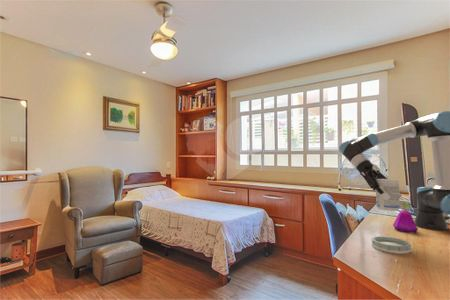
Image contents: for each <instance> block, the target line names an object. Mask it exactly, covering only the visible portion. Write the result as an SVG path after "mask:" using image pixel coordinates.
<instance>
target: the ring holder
mask: <svg viewBox="0 0 450 300" xmlns="http://www.w3.org/2000/svg"><path fill="white" fill-rule="evenodd" d="M371 247H373V248H374V249H376V250H378V251H381V252H386V253H389V254H397V255H407V254H410V253H411V249H412V244H411V243H410V241H407V240H405V239H402V238H397V237H393V236H384V235H377V236H376V235H375V236H372V237H371Z"/></svg>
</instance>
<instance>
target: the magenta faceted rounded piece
mask: <svg viewBox="0 0 450 300" xmlns="http://www.w3.org/2000/svg"><path fill="white" fill-rule="evenodd" d="M402 205H403V208H404V209H402V210H399V212H398V215H397V216H396V218H395V220H394V222H393V223H392V226H393V227H394V229H395V230H397V231H399V232H404V233H416V232H417V231H418V229H419V228H418V226H416V225H415V222H414V220H415V219H413V216H412V214H411V212H409V210H407V208H410V209H412V207H411V206H409V205H408V204H406V203H405V202H403V203H402Z"/></svg>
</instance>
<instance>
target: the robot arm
mask: <svg viewBox="0 0 450 300" xmlns="http://www.w3.org/2000/svg"><path fill="white" fill-rule="evenodd" d="M424 136H426V137H427V139H428V140H430V141H431V150H432V158H433V159H432V161H433V168H434V169H433V170H434V180H435V185H434V186H420V187H417V188H416V203H417V205H416V206H417V212H416V215H415V219H413V220H414V222H415V225H416V227H417V228H418V227H419V228H422V229H427V230H434V231H446V230H447V231H448V229H449V225H448V222H447V221H446V218H445V216H444V214H446V215H450V110H444V111H438V112H437V111H436V112H434V113H430V114H428V115H424V116H420V117H419V118H417V119H415V120H410V121H408V122H406V123H405V124H403V125H399V126H396V127H392V128H389V129H384V130H381V131H377V132H374V133H373V132H369V133H368V134H365V135H362V136H359V137H355V138H351V139H349V140H346V141H343V142H342V143H341V144H340V145H339V147H338V150H339V151H340V153H341V154H342V156H344V157H345V158H346V160H347V161H349V162H350V164H351V165H352V167H354V168H355V169H356V170H357V171H358V173H359V174H360V175H361V176H362V177H363V179H364V180H365V182H366V183H367V185H368V186H369V187H370V189H372V191H375V192H376V190H377V192H378V193H379V194H380V195H381V196H382V197H383V198H384V199H385V200H386V201H387V200H388V199H390V198H391V196H390V195H389V194H388V193H387V192H386V191H385V190H384V189H383V188H382V187H381V186H380V187H379V185H378V183H377V181H376V179H388V178H387V177H386V176H385V175H384V174H383V173H381V171H380V170H375V169H374V164H373V163H372V162H371V161H370V160H369V159H368V158H367V157H366V156H365V155H364V154H363V153H364V152H366V151H369V150H370V149H372V148H374V147H376V146H379V145H383V144H387V143H392V142H395V141H399V140H403V139H407V138H413V139H414V138H417V137H424ZM402 197H403V194H402V193H400V192H399V199H400V198H402Z"/></svg>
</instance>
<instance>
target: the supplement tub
mask: <svg viewBox="0 0 450 300" xmlns="http://www.w3.org/2000/svg"><path fill="white" fill-rule="evenodd" d="M376 181H377V183H378V185H379V187H380V186H381V187H382V188H383V189H384V190H385V191H386V192H387V193H388V194H389V195H390V196H391V198H390V199H388V200H387V201H386V200H385V199H384V198H383V197H382V196H381V195H380V194H379V193H378V192H377V190H375V197H376V198H375V203H376V209H378V210H381V211H387V212H398V211H400V209H401V208H400V202H401V201H400V198H399V193H400V183H399V180H398V179H394V178H393V179H392V178H387V179H376Z"/></svg>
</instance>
